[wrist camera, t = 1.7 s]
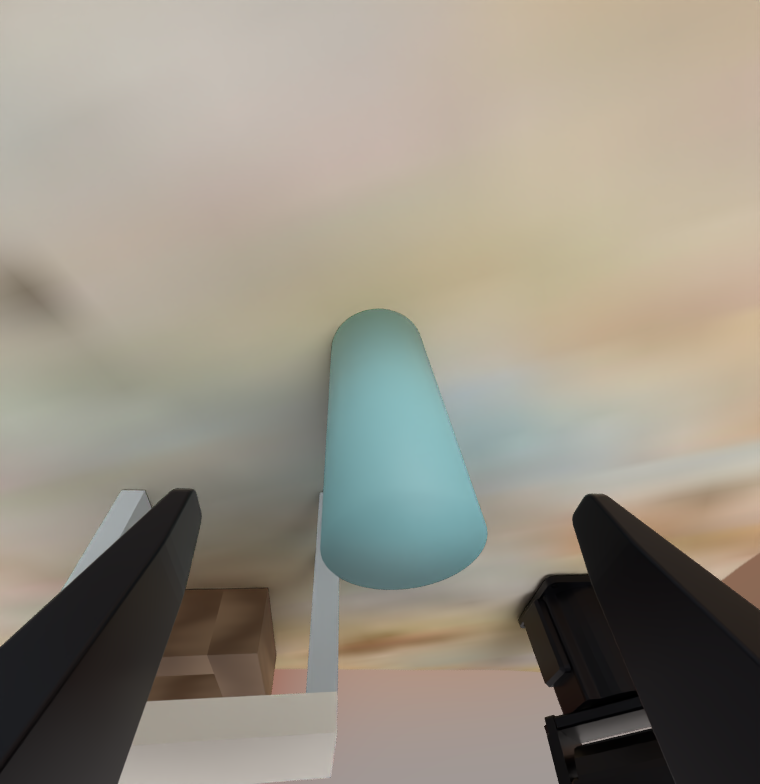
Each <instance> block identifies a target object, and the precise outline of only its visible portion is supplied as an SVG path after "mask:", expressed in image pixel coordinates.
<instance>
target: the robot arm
mask: <svg viewBox="0 0 760 784" xmlns="http://www.w3.org/2000/svg"><path fill="white" fill-rule="evenodd" d="M201 517H202V515H201V509H200V505H199V502H198V498H197V494H196V491H195V490H194V489H190V488H177V489H173V490H172V491H170V492H169V493H168V494H167V495H166V496H165V497H164V498H162V499H161V500H160V501H159V502H158V503H157V504H156V505H155V506H154V507H153V508H152V509H150V510H149V511H148V512H147V513H146V514H145V515H144V516H143V517H142V518H141V519H140V520H138V521H137V522H136V523H135V524H134V525H133V526H132V527H131V528H130V529H129V530H127V531H126V532H125V533H124V534H123V535H122V536H121V537H120V538H119V539H118V540H117V541H115V542H114V543H113V544H112V545H111V546H110V547H109V548H108V549H107V550H106V551H105V552H103V553H102V554H101V555H100V556H99V557H98V558H97V559H96V560H95V561H94V562H93V563H91V564H90V565H89V566H88V567H87V568H86V569H85V570H84V571H83V572H82V573H81V574H79V575H78V576H77V577H76V578H75V579H74V580H73V581H72V582H71V583H70V584H69V585H67V586H66V587H65V588H64V589H63V590H62V591H61V592H60V593H59V594H58V595H56V596H55V597H54V598H53V599H52V600H51V601H50V602H49V603H48V604H47V605H46V606H44V607H43V608H42V609H41V610H40V611H39V612H38V613H37V614H36V615H35V616H34V617H32V618H31V619H30V620H29V621H28V622H27V623H26V624H25V625H24V626H23V627H22V628H20V629H19V630H18V631H17V632H16V633H15V634H14V635H13V636H12V637H11V638H10V639H8V640H7V641H6V642H5V643H4V644H3V645H2V646H1V647H0V784H118V782H119V779H120V776H121V773H122V771H123V768H124V765H125V762H126V759H127V756H128V754H129V751H130V748H131V745H132V742H133V739H134V736H135V734H136V731H137V728H138V725H139V722H140V719H141V717H142V714H143V711H144V708H145V705H146V702H147V699H148V697H149V694H150V691H151V688H152V685H153V682H154V679H155V677H156V674H157V671H158V668H159V665H160V662H161V660H162V657H163V654H164V651H165V648H166V645H167V642H168V640H169V637H170V634H171V631H172V628H173V625H174V622H175V620H176V617H177V614H178V611H179V608H180V605H181V602H182V599H183V596H184V593H185V589H186V585H187V581H188V576H189V572H190V568H191V563H192V559H193V555H194V550H195V546H196V542H197V538H198V533H199V529H200V525H201ZM572 521H573V526H574V529H575V533H576V536H577V539H578V542H579V545H580V549H581V552H582V555H583V558H584V561H585V565H586V568H587V571H588V574H589V576H552V577H549V578H547V579H546V580H545V581H544V582H543V584H542V585H541V587H540V588H539V590H538V591H537V593H536V594H535V596H534V597H533V598H532V600H531V601H530V603H529V604H528V606H527V607H526V609H525V610H524V612H523V613H522V615H521V616H520V618H519V619H518V622H519V625H520V627H521V628H526V631H527V634H528V637H529V639H530V642H531V645H532V648H533V651H534V654H535V656H536V659H537V662H538V665H539V668H540V671H541V673H542V676H543V679H544V682H545V683H546V684H547V685H548V686H549V687H554V690H555V693H556V696H557V698H558V701H559V704H560V706H561V709H562V712H563V715H559V716H554V715H552V716H548V717H545V722H546V725H545V726H544V727H545V730H546V733H547V738H548V742H549V746H550V750H551V754H552V758H553V762H554V765H555V770H556V774H557V777H558V782H559V784H760V610H759V609H758V608H756V607H755V606H754V605H752V604H751V603H750V602H748V601H747V600H746V599H744V598H743V597H742V596H740V595H739V594H738V593H736V592H735V591H734V590H732V589H731V588H730V587H728V586H727V585H726V584H724V583H723V582H722V581H720V580H719V579H718V578H716V577H715V576H714V575H712V574H711V573H710V572H708V571H707V570H706V569H704V568H703V567H702V566H700V565H699V564H698V563H696V562H695V561H694V560H692V559H691V558H690V557H688V556H687V555H686V554H684V553H683V552H682V551H680V550H679V549H678V548H676V547H675V546H674V545H672V544H671V543H670V542H668V541H667V540H666V539H664V538H663V537H662V536H660V535H659V534H658V533H656V532H655V531H654V530H652V529H651V528H650V527H648V526H647V525H646V524H644V523H643V522H642V521H640V520H639V519H638V518H636V517H635V516H634V515H632V514H631V513H630V512H628V511H627V510H626V509H624V508H623V507H622V506H620V505H619V504H618V503H616V502H615V501H614V500H612V499H611V498H610V497H608V496H607V495H604V494H587V495H585V497H584V498H583V499H582V501H581V503H580V504H579V506H578V507H577V509H576V510H575V512H574V514H573V518H572ZM647 727H652V729H647V730H643V731H639V732H635V733H630V734H626V735H622V736H618V737H614V738H609V739H605V740H601V741H597V742H593V743H589V744H584V745H582V743H584V742H589V741H593V740H597V739H601V738H605V737H609V736H613V735H618V734H621V733H626V732H630V731H634V730H638V729H643V728H647Z"/></svg>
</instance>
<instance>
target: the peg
mask: <svg viewBox="0 0 760 784" xmlns="http://www.w3.org/2000/svg"><path fill="white" fill-rule="evenodd" d="M486 540H487V527H486V524H485V521H484V518H483V515H482V512H481V509H480V506H479V503H478V501H477V498H476V495H475V492H474V489H473V486H472V483H471V480H470V478H469V475H468V472H467V469H466V466H465V463H464V460H463V457H462V455H461V452H460V449H459V446H458V443H457V440H456V437H455V434H454V431H453V429H452V426H451V423H450V420H449V417H448V414H447V411H446V408H445V406H444V403H443V400H442V397H441V394H440V391H439V388H438V385H437V382H436V380H435V377H434V374H433V371H432V368H431V365H430V362H429V359H428V357H427V354H426V351H425V348H424V345H423V342H422V339H421V336H420V333H419V332H418V330H417V328H416V327H415V325H414V324H413V323H412V322H411V321H410V320H409V319H408V318H406V317H405V316H403V315H402V314H400V313H397V312H395V311H391V310H386V309H371V310H366V311H362V312H360V313H357V314H355V315H353V316H351V317H350V318H349V319H347V320H346V321H345V322H344V323H343V324H342V325H341V326H340V327H339V329H338V330H337V332H336V334H335V336H334V338H333V342H332V348H331V365H330V382H329V400H328V417H327V435H326V452H325V470H324V487H323V505H322V523H321V540H320V553H321V557H322V560H323V562H324V563H325V565H326V566H327V568H328V569H329V570H330V571H331V572H332V573H334V574H335V575H336V576H338V577H339V578H341V579H343V580H345V581H347V582H349V583H352V584H355V585H358V586H362V587H366V588H373V589H383V590H398V589H409V588H416V587H421V586H425V585H429V584H433V583H436V582H439V581H442V580H444V579H446V578H449V577H451V576H453V575H455V574H457V573H458V572H460V571H461V570H463V569H465V568H466V567H467V566H468V565H470V564H471V563H472V562H473V561H474V560H475V559H476V558H477V557H478V556H479V554H480V553H481V552H482V550H483V548H484V546H485V543H486Z"/></svg>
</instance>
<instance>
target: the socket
mask: <svg viewBox="0 0 760 784" xmlns="http://www.w3.org/2000/svg"><path fill="white" fill-rule="evenodd" d="M275 662H276V649H275V641H274V632H273V624H272V616H271V608H270V600H269V591H268V588H260V589H207V590H185V593H184V596H183V599H182V602H181V605H180V608H179V611H178V614H177V617H176V620H175V622H174V625H173V628H172V631H171V634H170V637H169V640H168V642H167V645H166V648H165V651H164V654H163V657H162V660H161V662H160V665H159V668H158V671H157V674H156V677H155V679H154V682H153V685H152V688H151V691H150V694H149V697H148V699H147V701H164V700H183V699H202V698H222V697H241V696H260V695H271V692H272V685H273V676H274V669H275Z"/></svg>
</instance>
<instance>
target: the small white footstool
mask: <svg viewBox="0 0 760 784" xmlns="http://www.w3.org/2000/svg"><path fill="white" fill-rule="evenodd" d="M322 505H323V492H320V496H319V511H318V525H317V540H316V555H315V569H314V584H313V599H312V613H311V628H310V643H309V657H308V672H307V687H306V693H298V694H279V695H260V696H241V697H222V698H202V699H183V700H164V701H147V702H146V705H145V708H144V711H143V714H142V717H141V719H140V722H139V725H138V728H137V731H136V734H135V736H134V739H133V742H132V745H131V748H130V751H129V754H128V756H127V759H126V762H125V765H124V768H123V771H122V773H121V776H120V779H119V782H118V784H258V783H270V782H283V781H296V780H308V779H321V778H331V772H332V765H333V758H334V750H335V744H336V737H337V705H338V704H337V703H338V700H337V699H338V630H339V577H338V576H336V575H335V574H334V573H332V572H331V571H330V570H329V569H328V568H327V566H326V565H325V563H324V562H323V560H322V557H321V553H320V540H321V523H322ZM150 509H152V508H151V505H150V503H149V500H148V497H147V495H146V492H145V490H121V492H120V494H119V495H118V497H117V499H116V500H115V502H114V504H113V505H112V507H111V509H110V510H109V512H108V514H107V515H106V517H105V519H104V520H103V522H102V524H101V525H100V527H99V529H98V530H97V532H96V534H95V535H94V537H93V538H92V540H91V542H90V543H89V545H88V547H87V548H86V550H85V552H84V553H83V555H82V557H81V558H80V560H79V562H78V563H77V565H76V567H75V568H74V570H73V572H72V573H71V575H70V577H69V578H68V580H67V582H66V583H65V585H64V587H63V588H62V590H63V589H64V588H65V587H66V586H67V585H69V584H70V583H71V582H72V581H73V580H74V579H75V578H76V577H77V576H78V575H79V574H81V573H82V572H83V571H84V570H85V569H86V568H87V567H88V566H89V565H90V564H91V563H93V562H94V561H95V560H96V559H97V558H98V557H99V556H100V555H101V554H102V553H103V552H105V551H106V550H107V549H108V548H109V547H110V546H111V545H112V544H113V543H114V542H115V541H117V540H118V539H119V538H120V537H121V536H122V535H123V534H124V533H125V532H126V531H127V530H129V529H130V528H131V527H132V526H133V525H134V524H135V523H136V522H137V521H138V520H140V519H141V518H142V517H143V516H144V515H145V514H146V513H147V512H148V511H149V510H150ZM62 590H61V591H62Z"/></svg>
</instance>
